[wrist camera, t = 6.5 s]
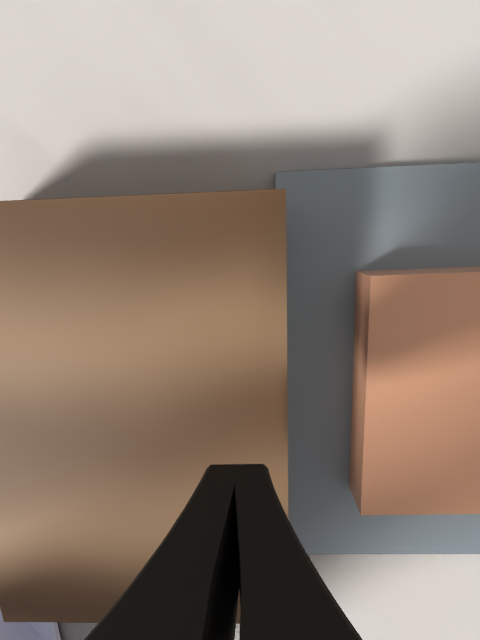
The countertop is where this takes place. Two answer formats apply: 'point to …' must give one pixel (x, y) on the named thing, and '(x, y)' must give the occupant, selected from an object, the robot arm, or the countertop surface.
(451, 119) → the countertop surface
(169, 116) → the countertop surface
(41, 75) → the countertop surface
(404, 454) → the tile
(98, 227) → the board
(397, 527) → the mat
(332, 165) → the countertop surface
